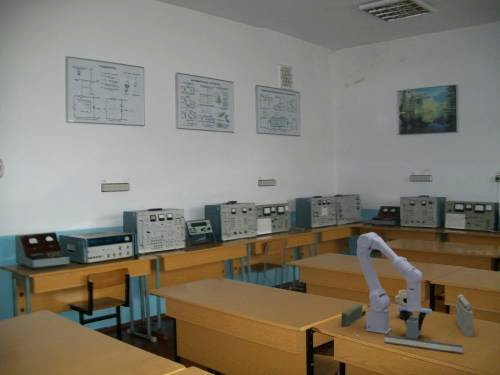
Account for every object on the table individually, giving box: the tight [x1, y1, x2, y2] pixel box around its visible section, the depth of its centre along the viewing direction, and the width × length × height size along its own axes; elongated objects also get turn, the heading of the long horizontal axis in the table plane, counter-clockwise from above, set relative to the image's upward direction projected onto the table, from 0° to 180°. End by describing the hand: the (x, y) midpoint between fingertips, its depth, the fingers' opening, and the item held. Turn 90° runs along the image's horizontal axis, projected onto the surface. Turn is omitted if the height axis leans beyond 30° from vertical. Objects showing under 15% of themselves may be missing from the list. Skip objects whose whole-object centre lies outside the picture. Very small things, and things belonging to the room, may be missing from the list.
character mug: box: [394, 289, 414, 319], centre depth 253 cm, size 11×7×13 cm, turn 98°
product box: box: [405, 315, 422, 339], centre depth 225 cm, size 5×9×7 cm, turn 151°
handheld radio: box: [340, 302, 367, 328], centre depth 251 cm, size 7×3×25 cm
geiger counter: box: [454, 294, 475, 338], centre depth 236 cm, size 14×6×25 cm
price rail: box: [384, 334, 464, 355], centre depth 211 cm, size 30×2×3 cm, turn 61°
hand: (413, 328), depth 225 cm, fingers closed on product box, 4 cm apart
